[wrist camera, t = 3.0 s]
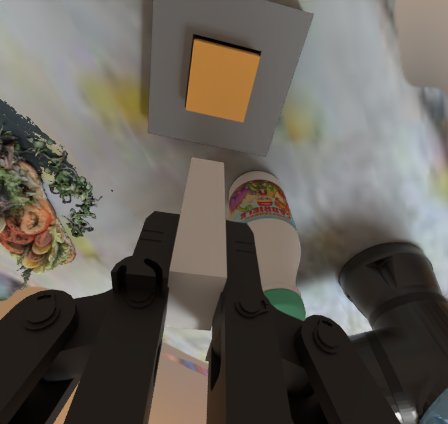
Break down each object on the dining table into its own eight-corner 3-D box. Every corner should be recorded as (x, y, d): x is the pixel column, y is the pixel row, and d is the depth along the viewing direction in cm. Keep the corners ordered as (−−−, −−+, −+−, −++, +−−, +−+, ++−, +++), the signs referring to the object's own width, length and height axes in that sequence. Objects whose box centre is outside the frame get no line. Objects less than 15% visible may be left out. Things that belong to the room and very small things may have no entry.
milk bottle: (284, 208, 40) (326, 337, 24) (235, 217, 41) (243, 347, 25) (278, 163, 35) (325, 285, 19) (222, 175, 36) (224, 301, 20)
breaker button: (257, 53, 25) (260, 56, 23) (241, 115, 29) (243, 122, 27) (196, 38, 24) (194, 39, 22) (188, 103, 28) (185, 110, 26)
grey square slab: (305, 14, 25) (313, 14, 23) (262, 146, 34) (265, 156, 31) (161, -27, 24) (154, -32, 21) (153, 124, 32) (147, 133, 29)
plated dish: (94, 293, 53) (77, 326, 47) (-70, 236, 44) (-116, 269, 38) (171, 163, 36) (161, 190, 30) (-70, 26, 27) (-152, 27, 21)
